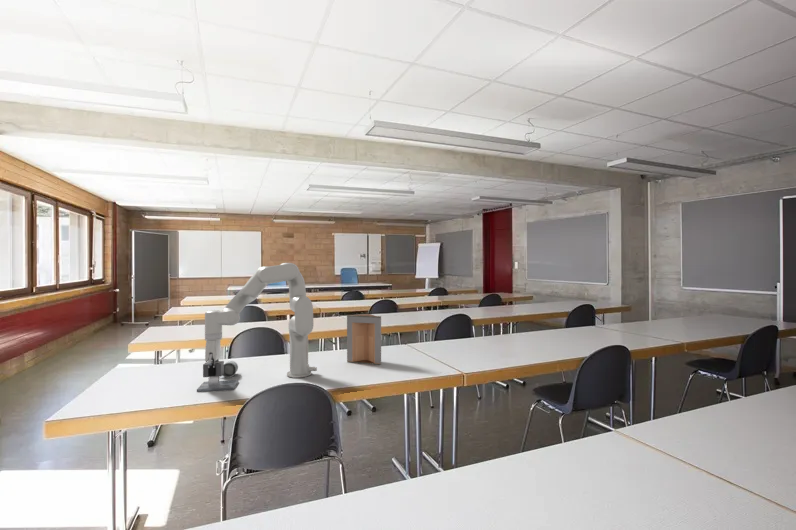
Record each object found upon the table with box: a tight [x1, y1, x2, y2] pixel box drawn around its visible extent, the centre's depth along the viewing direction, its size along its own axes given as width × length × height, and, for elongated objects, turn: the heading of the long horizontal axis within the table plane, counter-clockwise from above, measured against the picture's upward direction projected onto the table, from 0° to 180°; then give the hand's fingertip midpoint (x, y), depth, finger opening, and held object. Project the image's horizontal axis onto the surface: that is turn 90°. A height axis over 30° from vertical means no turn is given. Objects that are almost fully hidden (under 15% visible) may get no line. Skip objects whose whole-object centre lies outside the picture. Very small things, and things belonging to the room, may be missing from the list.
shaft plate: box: [196, 377, 239, 393], centre depth 197 cm, size 16×12×5 cm
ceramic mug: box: [222, 360, 239, 379], centre depth 216 cm, size 11×8×8 cm
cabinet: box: [346, 313, 382, 366], centre depth 244 cm, size 21×10×28 cm, turn 73°
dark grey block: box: [202, 360, 225, 378], centre depth 196 cm, size 8×6×6 cm
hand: (213, 373), depth 196 cm, fingers closed on dark grey block, 5 cm apart
